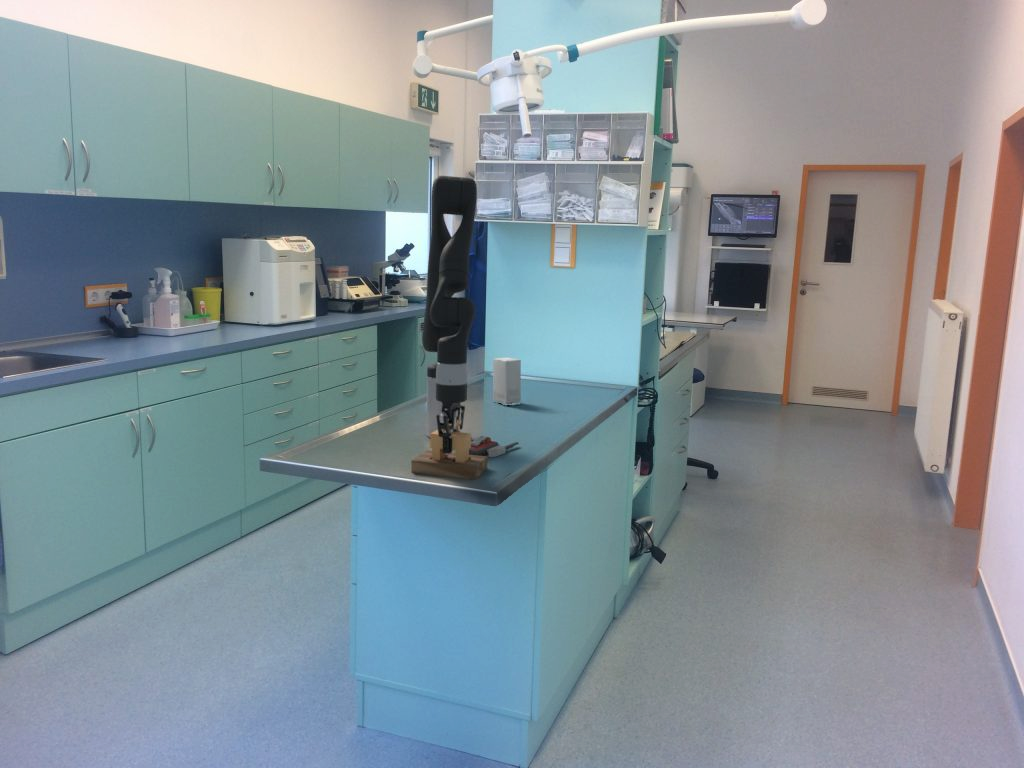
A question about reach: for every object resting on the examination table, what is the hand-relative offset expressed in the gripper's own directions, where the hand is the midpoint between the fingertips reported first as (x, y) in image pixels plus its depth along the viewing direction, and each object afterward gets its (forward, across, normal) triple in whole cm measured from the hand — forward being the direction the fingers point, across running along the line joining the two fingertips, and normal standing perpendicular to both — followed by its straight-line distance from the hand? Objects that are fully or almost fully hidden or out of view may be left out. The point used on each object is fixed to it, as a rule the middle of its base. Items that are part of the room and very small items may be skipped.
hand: (450, 450), depth 196 cm
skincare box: (+5, +83, +10) cm, 84 cm away
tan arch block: (+4, 0, 0) cm, 4 cm away
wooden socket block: (+5, 0, 0) cm, 5 cm away
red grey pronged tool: (+6, +20, -3) cm, 21 cm away
